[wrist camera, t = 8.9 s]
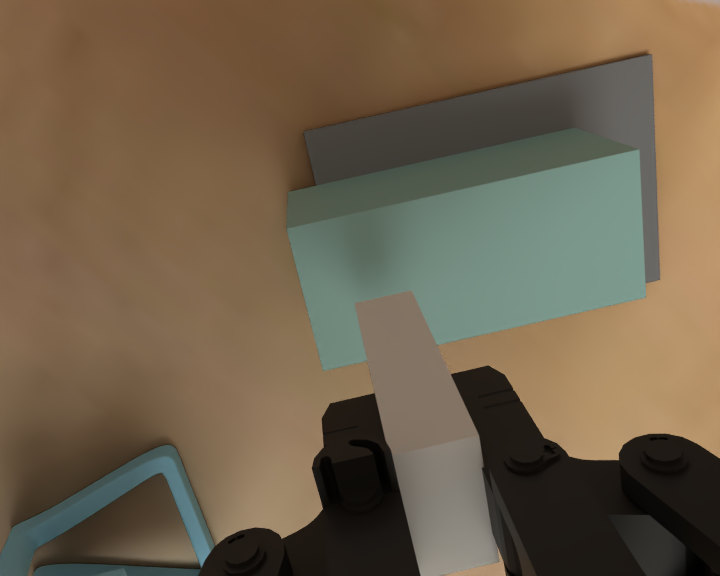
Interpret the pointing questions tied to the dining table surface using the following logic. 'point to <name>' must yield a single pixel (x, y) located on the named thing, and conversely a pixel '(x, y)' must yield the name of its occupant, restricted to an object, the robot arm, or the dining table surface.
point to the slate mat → (506, 128)
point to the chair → (12, 565)
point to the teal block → (473, 239)
